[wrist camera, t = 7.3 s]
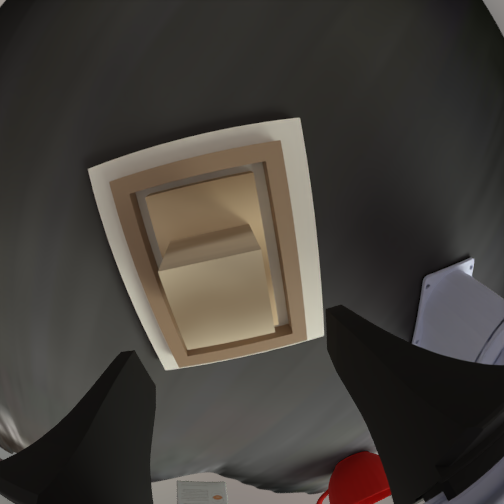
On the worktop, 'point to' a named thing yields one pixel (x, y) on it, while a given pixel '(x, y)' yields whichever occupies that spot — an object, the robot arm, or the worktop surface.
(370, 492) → the ceramic cup
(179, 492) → the small box
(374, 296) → the worktop surface
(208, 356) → the keyed base
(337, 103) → the worktop surface
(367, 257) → the worktop surface
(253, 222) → the flange block
